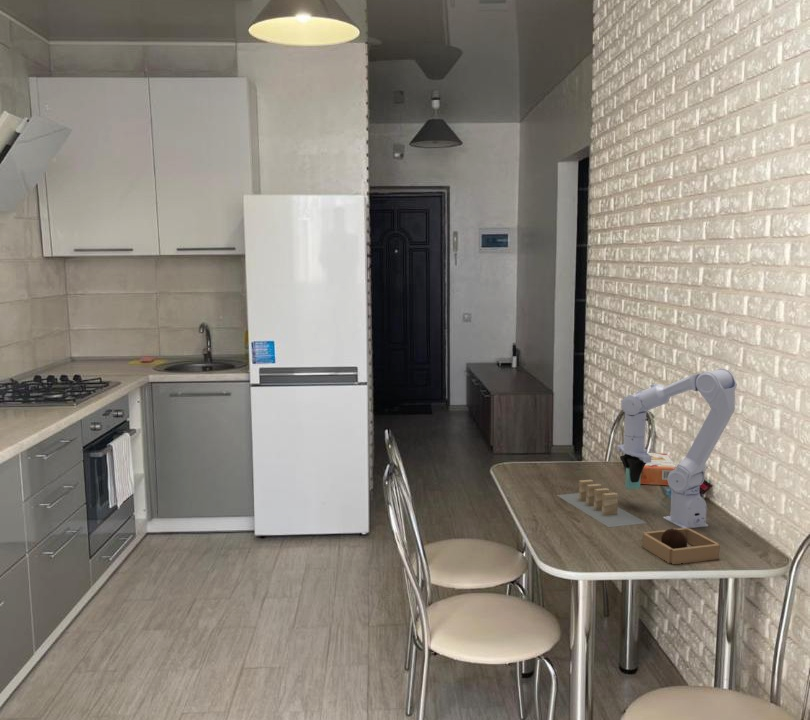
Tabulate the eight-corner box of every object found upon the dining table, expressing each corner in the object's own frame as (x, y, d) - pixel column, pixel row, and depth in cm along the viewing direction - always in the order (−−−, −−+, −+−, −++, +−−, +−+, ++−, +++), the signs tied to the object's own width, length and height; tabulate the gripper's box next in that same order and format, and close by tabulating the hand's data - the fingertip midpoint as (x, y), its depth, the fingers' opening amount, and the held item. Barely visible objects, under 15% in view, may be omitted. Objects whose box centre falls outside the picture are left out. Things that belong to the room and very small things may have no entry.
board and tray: (720, 558, 192) (721, 544, 192) (667, 565, 188) (668, 551, 188) (599, 492, 246) (600, 481, 245) (556, 496, 242) (556, 485, 241)
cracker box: (633, 466, 254) (624, 451, 275) (632, 484, 255) (624, 467, 275) (678, 467, 252) (666, 452, 273) (677, 486, 253) (665, 469, 273)
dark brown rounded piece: (694, 551, 198) (695, 523, 197) (684, 560, 191) (686, 531, 190) (662, 544, 202) (663, 516, 201) (652, 553, 196) (653, 525, 195)
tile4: (600, 504, 232) (601, 485, 231) (588, 506, 231) (589, 486, 230) (597, 503, 234) (598, 483, 233) (585, 504, 233) (586, 484, 232)
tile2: (617, 514, 224) (618, 494, 223) (604, 515, 222) (605, 495, 222) (614, 512, 225) (615, 492, 224) (601, 514, 224) (602, 493, 223)
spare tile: (640, 488, 230) (640, 468, 229) (628, 489, 229) (628, 469, 228) (637, 486, 232) (637, 466, 231) (625, 487, 230) (625, 467, 230)
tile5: (592, 500, 236) (593, 481, 236) (580, 501, 235) (581, 482, 235) (590, 498, 238) (590, 479, 237) (578, 500, 237) (578, 480, 236)
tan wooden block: (608, 509, 228) (609, 489, 227) (596, 510, 227) (597, 490, 226) (605, 508, 229) (606, 488, 229) (593, 509, 228) (594, 489, 228)
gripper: (661, 439, 222) (659, 486, 224) (632, 429, 236) (630, 473, 238) (639, 441, 220) (637, 488, 222) (611, 430, 234) (610, 475, 236)
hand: (632, 480), depth 230 cm, fingers closed on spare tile, 1 cm apart
